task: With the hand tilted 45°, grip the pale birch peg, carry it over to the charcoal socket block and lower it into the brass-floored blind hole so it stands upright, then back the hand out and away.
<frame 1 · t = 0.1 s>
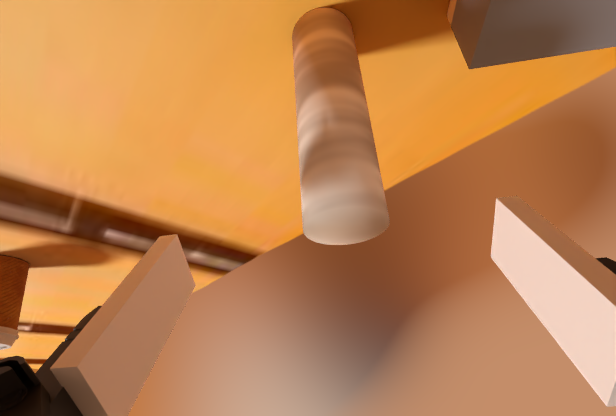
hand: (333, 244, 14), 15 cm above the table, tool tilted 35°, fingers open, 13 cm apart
disposable coffee cup: (4, 260, 52), on the table
birch peg: (322, 37, 23), on the table
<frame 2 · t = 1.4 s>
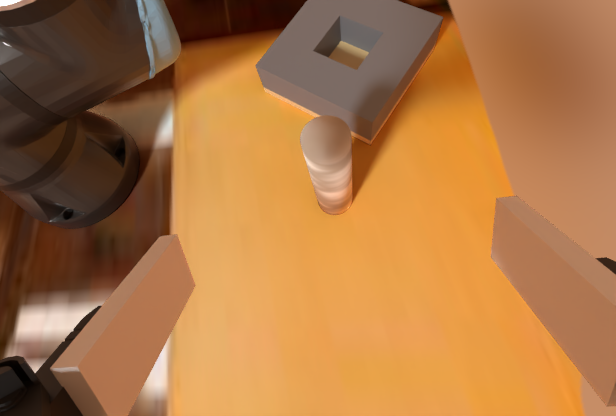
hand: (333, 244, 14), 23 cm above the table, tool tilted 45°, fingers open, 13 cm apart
socket block: (348, 70, 45), on the table
birch peg: (335, 198, 40), on the table
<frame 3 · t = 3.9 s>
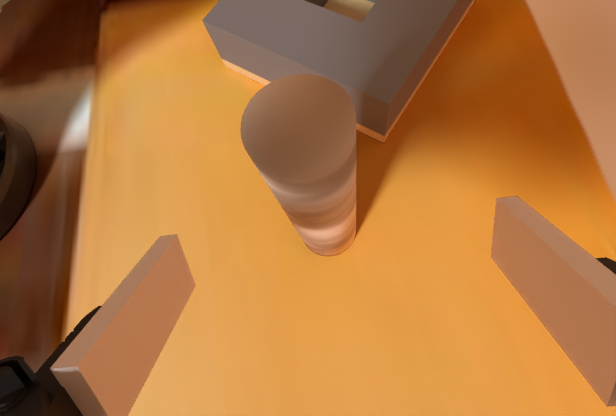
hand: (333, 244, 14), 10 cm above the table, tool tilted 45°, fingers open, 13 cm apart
socket block: (348, 33, 30), on the table
birch peg: (328, 228, 25), on the table
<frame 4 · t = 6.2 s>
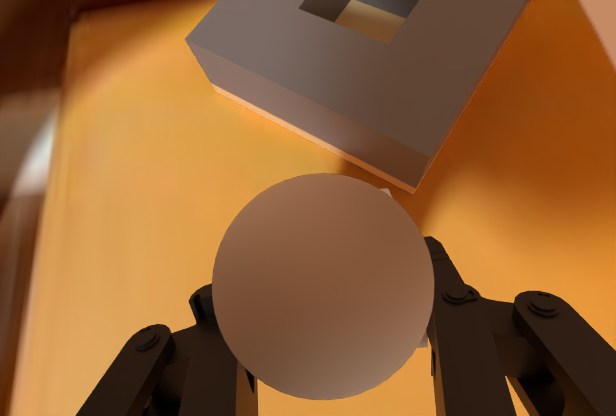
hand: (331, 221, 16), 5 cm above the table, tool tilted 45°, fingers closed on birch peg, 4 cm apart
socket block: (366, 53, 25), on the table
birch peg: (344, 309, 19), on the table, touching gripper
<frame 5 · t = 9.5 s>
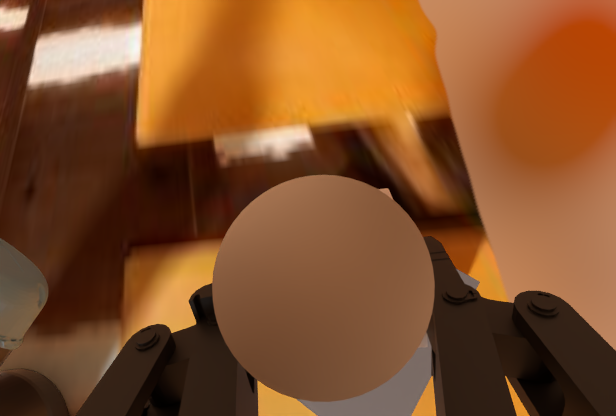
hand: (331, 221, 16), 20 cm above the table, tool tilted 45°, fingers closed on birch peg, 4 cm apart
socket block: (348, 313, 34), on the table
birch peg: (344, 309, 19), point 16 cm above the table, touching gripper
when the fingers open (7 cm above the table, at t = 13.0 s): birch peg stays where it is, resting on socket block.
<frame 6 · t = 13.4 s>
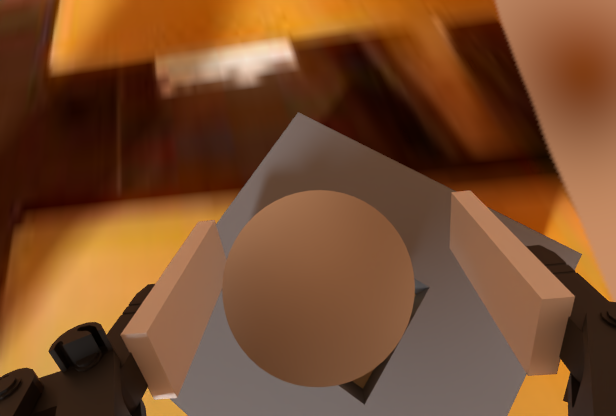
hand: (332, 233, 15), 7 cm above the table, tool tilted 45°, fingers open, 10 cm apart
socket block: (345, 310, 21), on the table
birch peg: (345, 310, 20), point 1 cm above the table, touching socket block
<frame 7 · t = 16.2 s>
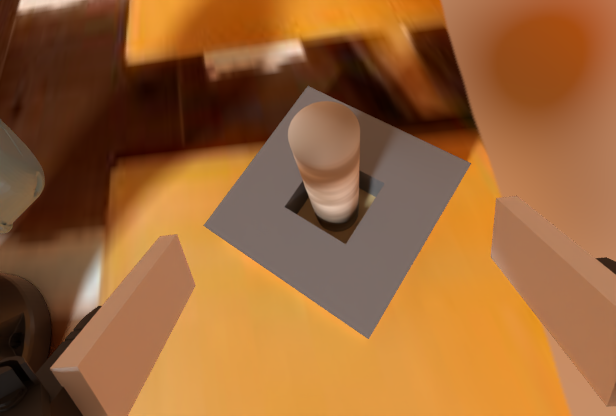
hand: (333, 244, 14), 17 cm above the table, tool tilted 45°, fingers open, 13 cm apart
socket block: (337, 213, 33), on the table
birch peg: (336, 211, 32), point 1 cm above the table, touching socket block
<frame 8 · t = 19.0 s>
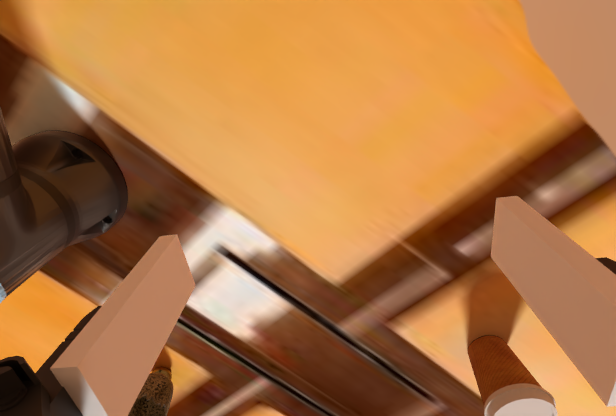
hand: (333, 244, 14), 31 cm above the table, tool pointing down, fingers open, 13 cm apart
disposable coffee cup: (486, 347, 58), on the table
cup: (163, 371, 64), on the table
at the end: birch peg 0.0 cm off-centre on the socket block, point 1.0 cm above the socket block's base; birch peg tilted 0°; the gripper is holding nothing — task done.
